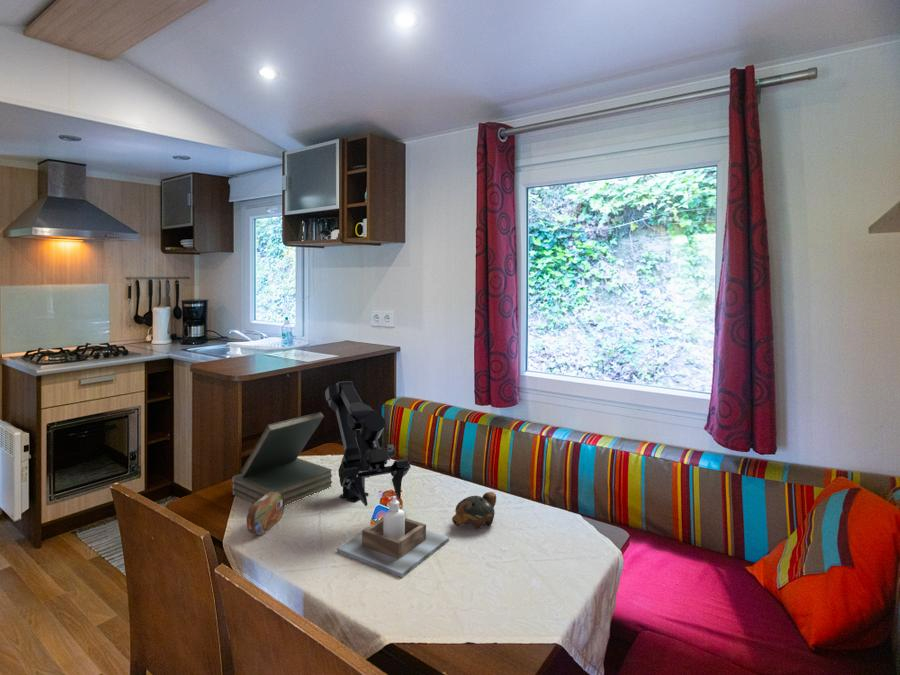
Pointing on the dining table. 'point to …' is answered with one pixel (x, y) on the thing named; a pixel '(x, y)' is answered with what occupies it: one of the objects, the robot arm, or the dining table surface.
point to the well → (394, 547)
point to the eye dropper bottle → (394, 521)
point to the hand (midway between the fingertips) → (383, 502)
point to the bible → (282, 463)
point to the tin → (265, 513)
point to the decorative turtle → (475, 510)
